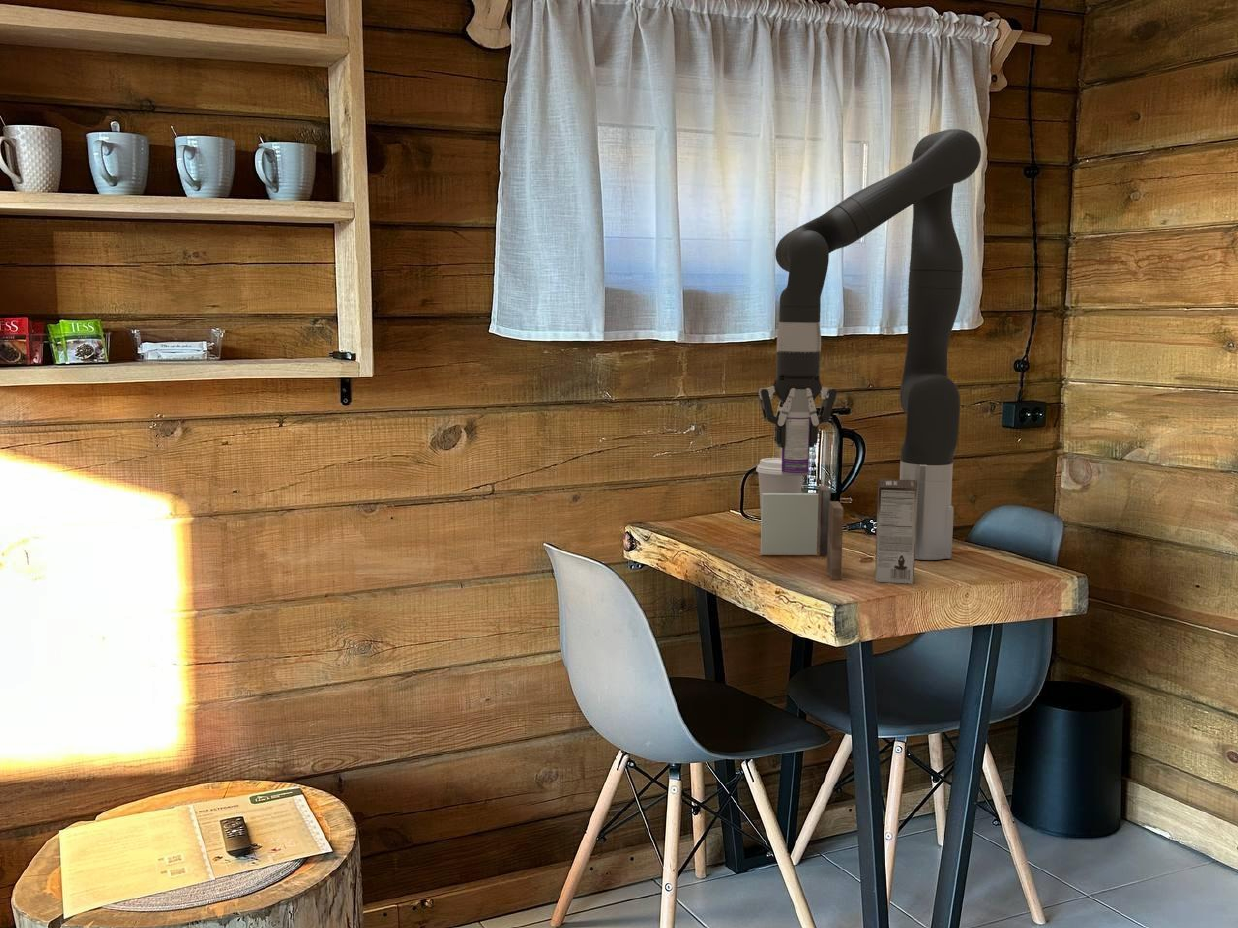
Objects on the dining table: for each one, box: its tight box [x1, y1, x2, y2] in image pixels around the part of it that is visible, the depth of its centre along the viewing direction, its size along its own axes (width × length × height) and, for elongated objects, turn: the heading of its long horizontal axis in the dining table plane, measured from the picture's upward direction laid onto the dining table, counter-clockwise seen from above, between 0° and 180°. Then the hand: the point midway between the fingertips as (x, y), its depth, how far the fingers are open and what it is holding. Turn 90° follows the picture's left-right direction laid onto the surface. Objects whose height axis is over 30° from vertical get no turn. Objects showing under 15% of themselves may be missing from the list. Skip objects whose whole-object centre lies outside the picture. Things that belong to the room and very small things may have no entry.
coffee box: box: [874, 478, 918, 585], centre depth 200 cm, size 9×6×16 cm
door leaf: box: [760, 492, 819, 556], centre depth 216 cm, size 10×1×11 cm, turn 92°
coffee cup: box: [755, 457, 804, 518], centre depth 233 cm, size 10×10×15 cm
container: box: [781, 389, 810, 477], centre depth 208 cm, size 5×5×15 cm
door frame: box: [817, 485, 844, 581], centre depth 209 cm, size 2×24×12 cm, turn 176°
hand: (795, 446), depth 209 cm, fingers closed on container, 4 cm apart
